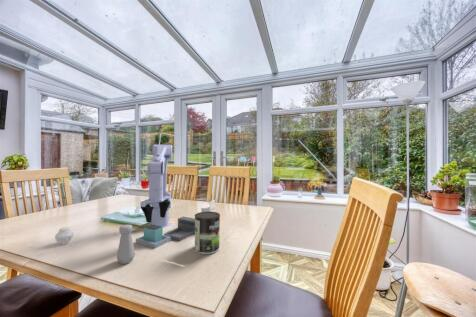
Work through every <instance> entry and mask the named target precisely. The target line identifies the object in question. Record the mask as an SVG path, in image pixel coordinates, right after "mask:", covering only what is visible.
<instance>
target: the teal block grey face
mask: <svg viewBox="0 0 476 317" xmlns="http://www.w3.org/2000/svg"><path fill="white" fill-rule="evenodd" d="M163 230H164V228H163V227H161V226H156V225H152V224H151V225H150V224H148V225H146V226H144V227H143V236H144V240H146V241H150V242H153V243H157V242H159V241H161V240H163V235H164V233H163Z"/></svg>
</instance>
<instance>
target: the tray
mask: <svg viewBox="0 0 476 317" xmlns="http://www.w3.org/2000/svg"><path fill="white" fill-rule="evenodd" d="M171 241H172V239H171V237H170V236H165V235H164V234H163V240H161V241H159V242H157V243H153V242H150V241H146V240H144V235H141V236H139V237H137V238H135V243H136V244H138V245H142V246H146V247H149V248H153V249H157V248H159V247H161V246H164V245H165V244H167V243H169V242H171Z"/></svg>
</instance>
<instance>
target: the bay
mask: <svg viewBox="0 0 476 317" xmlns="http://www.w3.org/2000/svg"><path fill="white" fill-rule="evenodd" d="M163 235H165V236H170V237H171V240H173V241H177V242H181V241H183V240H185V239H187V238H189V237H190V236H192V235H195V217H188V216H181V217H179V218H178V217H177V227H176V228H174V229H171V230H169V231H167V232H165V233H163Z"/></svg>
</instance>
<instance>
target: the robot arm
mask: <svg viewBox="0 0 476 317" xmlns="http://www.w3.org/2000/svg"><path fill="white" fill-rule="evenodd" d="M151 150H152V155H153V156H152V158H151V161H150V162H148V164H147V178H148V181H149V182H148V199H145V200H143V201H139V202H140V203H139V204H140V209H141V211H142V212H143V214H144V218H145V222H146V223H149V225H151V224H152V225H156V226H161V227H163V229H164V228H167V227H170V226H173V224H172V223H170V222H169V221H170V220H169V218H170V217H169V209H171V208H172V194H171V193H170V192H169V191H168V190H167V176H168V164H169V162H171V161H172V158H173V146H172V144H153V145H152V148H151Z"/></svg>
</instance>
